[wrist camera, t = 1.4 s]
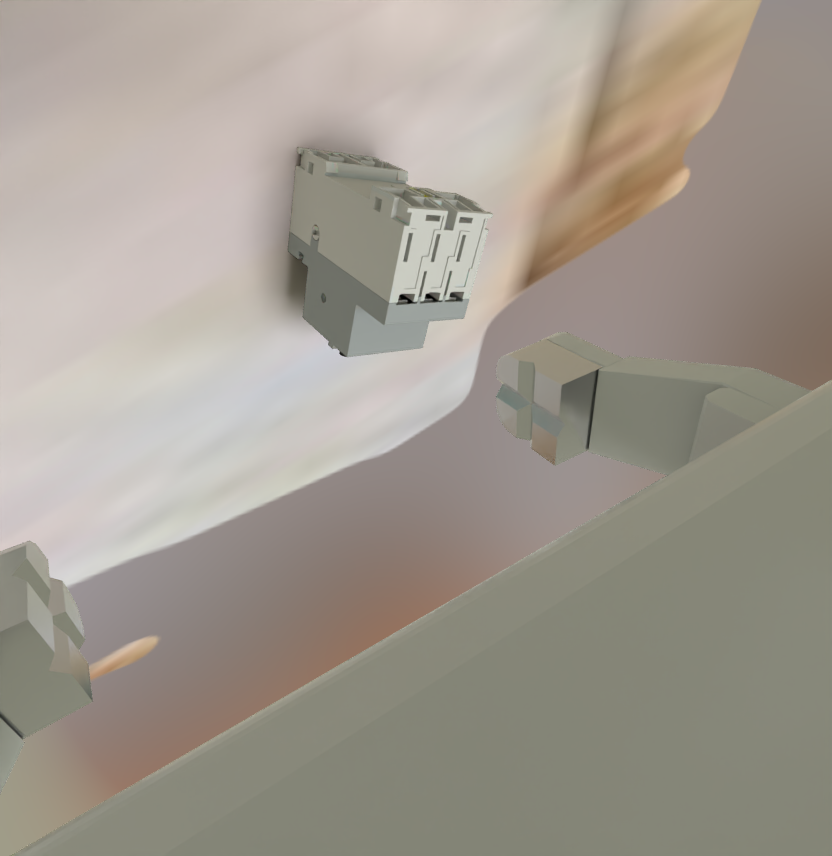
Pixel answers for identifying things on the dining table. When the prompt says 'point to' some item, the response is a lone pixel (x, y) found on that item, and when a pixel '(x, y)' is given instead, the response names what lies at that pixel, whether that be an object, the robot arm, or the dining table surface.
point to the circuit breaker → (380, 252)
